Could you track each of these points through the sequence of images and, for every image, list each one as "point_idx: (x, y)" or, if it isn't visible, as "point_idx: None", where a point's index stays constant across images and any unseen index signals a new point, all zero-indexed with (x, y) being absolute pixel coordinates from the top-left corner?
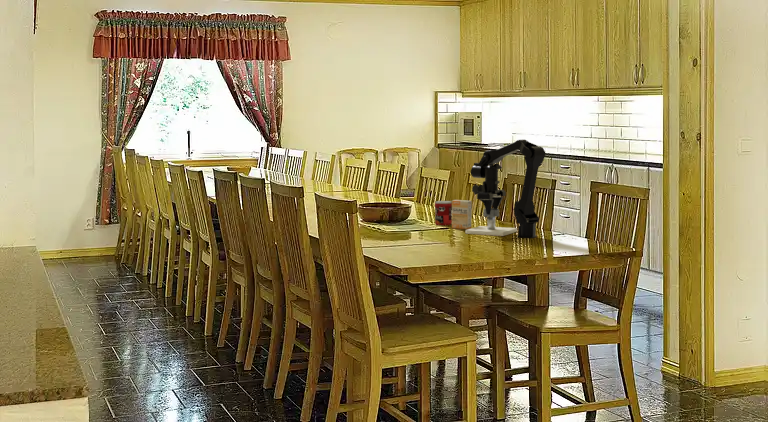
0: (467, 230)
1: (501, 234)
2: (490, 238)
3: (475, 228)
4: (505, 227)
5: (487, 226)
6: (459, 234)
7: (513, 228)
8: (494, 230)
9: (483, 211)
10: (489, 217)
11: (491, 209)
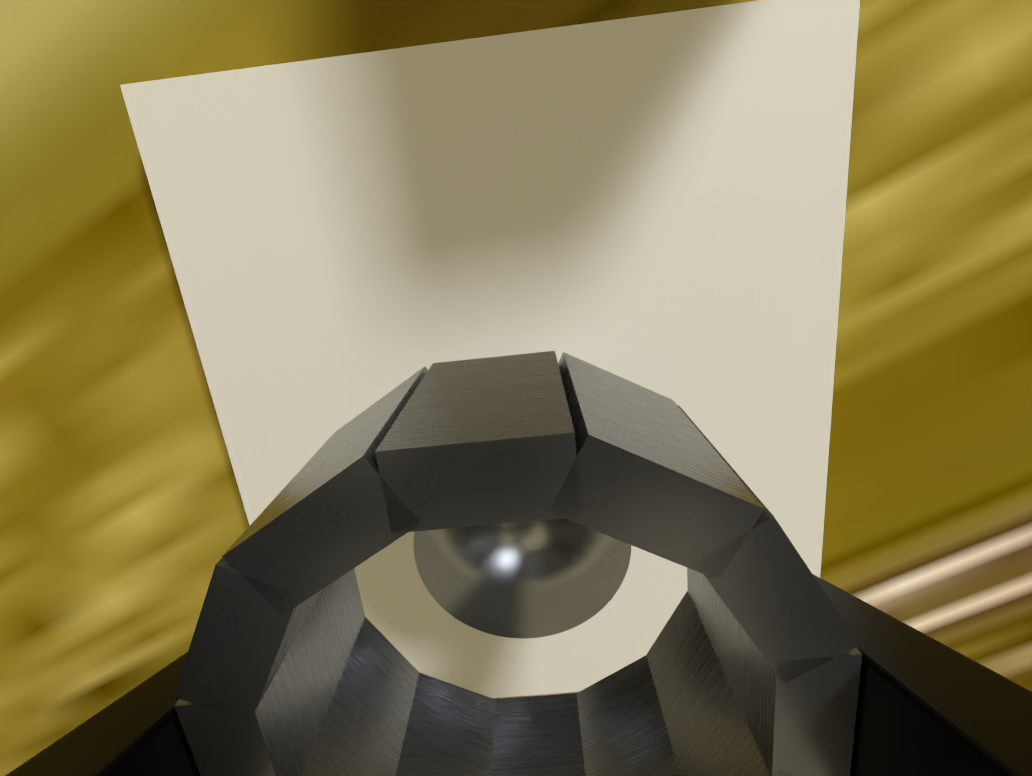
0: (136, 135)
1: None
2: (54, 649)
3: (444, 129)
4: (822, 516)
5: None
6: (5, 67)
7: None
8: (412, 538)
9: (388, 415)
10: (414, 551)
11: (745, 621)
